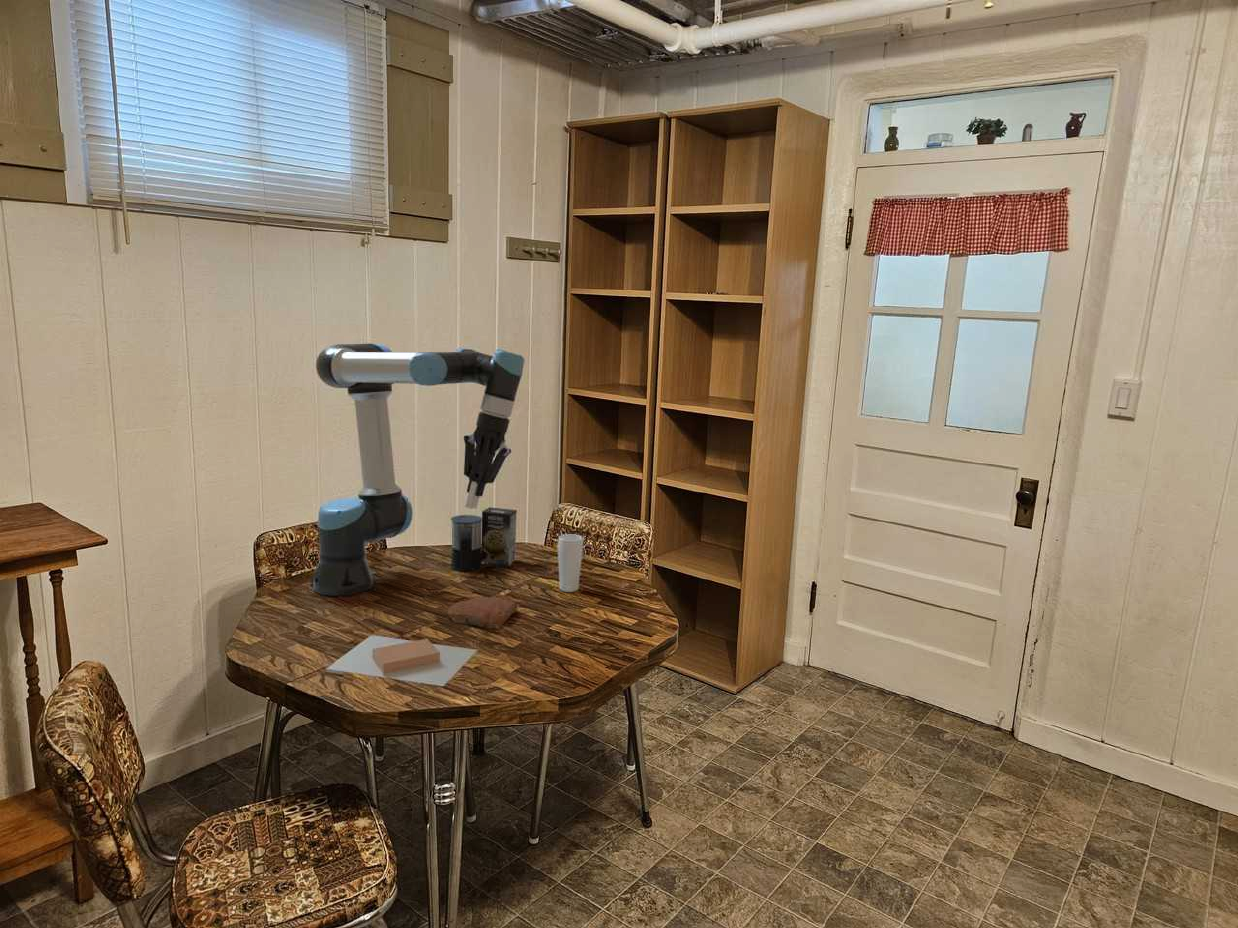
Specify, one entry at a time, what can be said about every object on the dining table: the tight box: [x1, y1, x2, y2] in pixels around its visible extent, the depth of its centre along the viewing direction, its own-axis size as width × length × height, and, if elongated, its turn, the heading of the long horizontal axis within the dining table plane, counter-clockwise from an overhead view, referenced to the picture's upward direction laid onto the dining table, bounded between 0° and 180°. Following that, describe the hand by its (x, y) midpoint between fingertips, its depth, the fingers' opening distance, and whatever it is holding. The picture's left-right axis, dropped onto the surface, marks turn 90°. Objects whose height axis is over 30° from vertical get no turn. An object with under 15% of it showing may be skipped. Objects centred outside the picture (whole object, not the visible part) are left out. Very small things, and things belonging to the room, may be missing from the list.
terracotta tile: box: [372, 638, 440, 675], centre depth 167 cm, size 2×8×12 cm
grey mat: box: [325, 634, 478, 687], centre depth 168 cm, size 26×18×1 cm
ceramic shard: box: [447, 596, 518, 630], centre depth 194 cm, size 15×6×15 cm
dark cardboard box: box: [481, 506, 518, 566], centre depth 237 cm, size 9×6×16 cm
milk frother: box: [450, 514, 510, 572], centre depth 230 cm, size 14×16×15 cm
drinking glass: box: [557, 533, 584, 593], centre depth 216 cm, size 7×7×15 cm
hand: (470, 507), depth 192 cm, fingers closed
